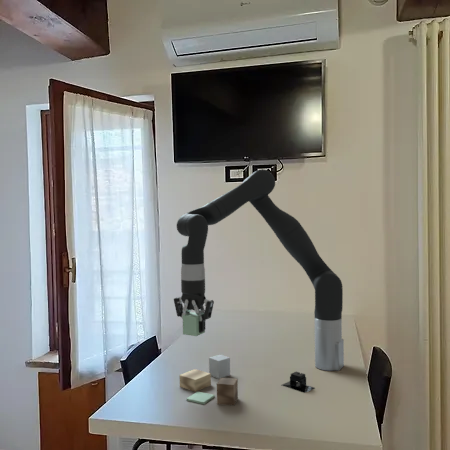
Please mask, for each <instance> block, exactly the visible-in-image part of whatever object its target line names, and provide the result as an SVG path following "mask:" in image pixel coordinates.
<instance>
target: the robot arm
mask: <svg viewBox="0 0 450 450" xmlns="http://www.w3.org/2000/svg"><path fill="white" fill-rule="evenodd" d="M275 186H276V178H275V177H274V175H273V173H272V172H271V171H269V170H268V169H257V170H256V171H254V172H252V173H251V174H250V175H249V176H248V177H246V178H245V179H244V180H243V181H242V183H240V184H239V185H238V186H235V187H234V188H232V189H231V190H228V191H227V192H225V193H224V194H222V195H220V196H218V197H216V198H215V199H213V200H211V201H209V202H208V203H207V204H206V203H205V205H203V206H201V207H198V208H195V209H193V210H191V211H189V212H186V213H184V214H183V215H181V216H180V217H179V218H178V220H177V222H176V230H177V232H178V233H179V234H180V235H181V236H184V237H188V240H187V244H185V245H183V246H182V248H181V267H180V281H181V282H180V289H181V292H180V293H182V294H181V296H177V297H175V298H173V302H174V307H175V312H176V315H177V318H178V317H180V318H181V319H182V320H183V315H186V314H188V313H191V312H192V311H194V313H196V314H197V315H198V319H199V333H202V332H204V330H205V331H206V320H208V319H210V318H211V317H212V313H213V308H214V303H215V302H214V300H213V299H212V300H210V299H207V297H206V296H205V295H206V294H205V293H206V268H205V253H204V251H205V247H206V242H207V237H208V234H209V233H208V232H209V226H212V225H213V226H214V225H216V224H218V223H220V222H221V221H223V220H224V219H226V218H227V217H229V216H230V215H232V214H233V213H235V212H236V211H237V210H238V209H240V208H242V206H244V205H245V204H247V203H248V202H249V203H250V204H251V206H253V208H254V209H255V210H256V211H257V212H258V213H259V215H261V217H262V218H263V219H264V221H265V222H266V224H267V225H268V226H269V227H270V229H271V230H272V231H273V233H274V235H276V237H277V238H278V239H277V240H279V242H280V243H281V244H282V246H283V247H284V248H285V250H286V252H287V253H288V254H289V255H290V256H291V257H292V258H293V259H294V260H295V261H296V262H297V263H298V264H299V265H300V266H301V268H302V269H303V271H304V272H305V274H306V275H307V277H308V278H309V280H310V282H311V284H312V286H313V288H314V300H315V301H314V314H313V315H314V366H315V368H316V369H319V370H321V371H322V370H323V371H328V372H329V371H330V372H331V371H337V372H338V371H340V370H341V369H343V367H344V366H345V362H344V361H345V359H344V358H345V356H344V355H345V353H344V351H345V349H344V348H345V347H344V344H345V343H344V340H345V339H344V338H342V337H343V336H342V335H343V331H342V330H343V328H342V327H343V326H342V325H343V324H342V323H343V322H342V312H343V300H344V299H343V295H344V294H343V283H342V280H341V278H340V277H339V276H338V275H337V274H336V273H335V271H333V270H332V269H331V267H329V265H328V264H327V263H326V262H325V261H324V260H323V258H322V257H321V256H320V254H319V252H318V250H317V249H316V247H315V245H314V242H313V241H312V239H311V238H310V236H309V234H308V233H307V231H306V230H305V228H304V227H303V226H302V224H301V223H300V221H299V220H297V219H296V218H295V217H294V216H292V215H291V214H290V213H288V212H285V211H284V210H282V209H281V208H279V207H278V206H277V205H276V204H275V202H273V200H272V199H271V197H270V196H269V195H270V194H271V193H272V192H273V191H274V189H275ZM204 306H205V307H204Z"/></svg>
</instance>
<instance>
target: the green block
mask: <svg viewBox="0 0 450 450" xmlns="http://www.w3.org/2000/svg"><path fill="white" fill-rule="evenodd" d="M204 333H206V329H205V330H204V332H202V333H199V319H198V315H197V314H196V312H195V311H194V312H192V311H191V312H190V313H188V314H186V315H183V319H182V335H185V336H192V337H198V336H200V335H202V334H204Z"/></svg>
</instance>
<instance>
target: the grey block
mask: <svg viewBox="0 0 450 450" xmlns="http://www.w3.org/2000/svg"><path fill="white" fill-rule="evenodd" d="M208 373H210V374H211V377H213V378H216V379H217V380H220V378H227V377H229V376H231V357H230V356H226V355H224V354H217V355H214V356H210V357H208Z"/></svg>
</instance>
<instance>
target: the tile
mask: <svg viewBox="0 0 450 450" xmlns="http://www.w3.org/2000/svg"><path fill="white" fill-rule="evenodd" d="M213 398H215V394H212V393H207V392H201V391H197V392H195V393H193V394H191V395H190V396H188V397H187V398H186V401H187V402H192V403H195V404H196V403H197V404H200V405H205V404H207V403H208V402H209V401H211V400H212V399H213Z"/></svg>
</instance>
